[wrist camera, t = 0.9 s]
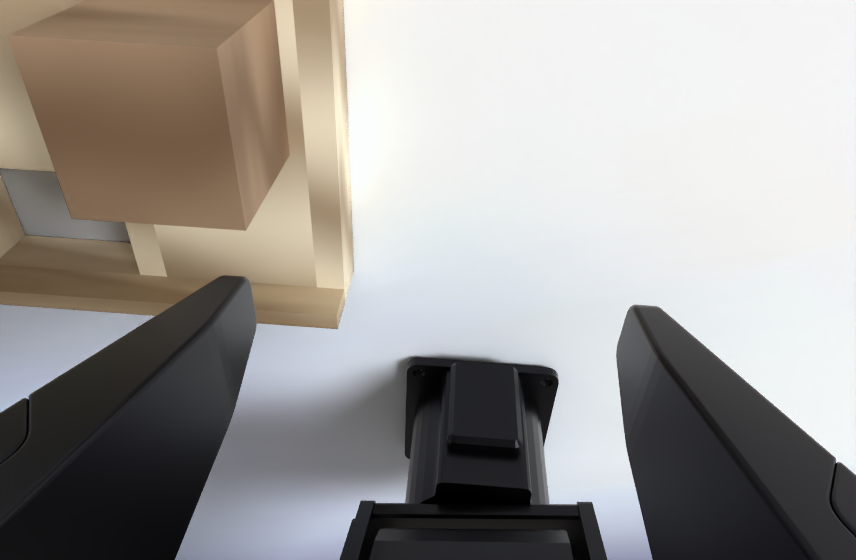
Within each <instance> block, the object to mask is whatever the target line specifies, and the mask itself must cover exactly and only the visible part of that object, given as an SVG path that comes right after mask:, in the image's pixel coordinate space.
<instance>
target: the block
mask: <svg viewBox="0 0 856 560" xmlns="http://www.w3.org/2000/svg"><path fill="white" fill-rule="evenodd" d="M7 37H8V40H9V43H10V45H11V48H12V51H13V54H14V57H15V59H16V62H17V65H18V68H19V71H20V74H21V76H22V79H23V82H24V85H25V88H26V91H27V93H28V96H29V99H30V102H31V105H32V108H33V110H34V113H35V116H36V119H37V122H38V124H39V127H40V130H41V133H42V136H43V139H44V141H45V144H46V147H47V150H48V153H49V156H50V158H51V161H52V164H53V167H54V170H55V173H56V175H57V178H58V181H59V184H60V187H61V189H62V192H63V195H64V198H65V201H66V204H67V206H68V209H69V212H70V215H71V218H72V219H83V220H98V221H112V222H127V223H141V224H156V225H170V226H185V227H199V228H214V229H228V230H243V231H246V230H247V228H248V226H249V225H250V223H251V221H252V219H253V218H254V216H255V214H256V213H257V211H258V209H259V207H260V206H261V204H262V202H263V200H264V199H265V197H266V195H267V194H268V192H269V190H270V188H271V187H272V185H273V183H274V181H275V180H276V178H277V176H278V174H279V173H280V171H281V169H282V168H283V166H284V164H285V162H286V161H287V159H288V157H289V155H290V152H289V142H288V132H287V122H286V113H285V103H284V93H283V83H282V73H281V64H280V54H279V44H278V34H277V24H276V14H275V5H274V0H87V1H84V2H82V3H80V4H78V5H75V6H73V7H71V8H68V9H66V10H64V11H62V12H59V13H57V14H55V15H52V16H50V17H48V18H45V19H43V20H41V21H39V22H36V23H34V24H32V25H29V26H27V27H25V28H23V29H20V30H18V31H16V32H13V33H11V34H9V35H7Z"/></svg>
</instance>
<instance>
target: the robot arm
mask: <svg viewBox="0 0 856 560" xmlns="http://www.w3.org/2000/svg"><path fill="white" fill-rule="evenodd" d="M255 331H256V313H255V307H254V301H253V294H252V288H251V284H250V281H249V279H247V278H246V277H244V276H230V275H222V276H220V277H218V278H216V279H214V280H213V281H211V282H210V283H208V284H206V285H205V286H203V287H202V288H200V289H198V290H197V291H195V292H194V293H192V294H190V295H189V296H187V297H186V298H184V299H182V300H181V301H179V302H178V303H176V304H174V305H173V306H171V307H170V308H168V309H166V310H165V311H163V312H162V313H160V314H158V315H157V316H155V317H154V318H152V319H150V320H149V321H147V322H145V323H144V324H142V325H141V326H139V327H137V328H136V329H134V330H133V331H131V332H129V333H128V334H126V335H125V336H123V337H121V338H120V339H118V340H117V341H115V342H113V343H112V344H110V345H109V346H107V347H105V348H104V349H102V350H101V351H99V352H97V353H96V354H94V355H93V356H91V357H89V358H88V359H86V360H85V361H83V362H81V363H80V364H78V365H77V366H75V367H73V368H72V369H70V370H69V371H67V372H65V373H64V374H62V375H60V376H59V377H57V378H56V379H54V380H52V381H51V382H49V383H48V384H46V385H44V386H43V387H41V388H40V389H38V390H36V391H35V392H33V393H32V394H30V395H29V400H28V399H27V398H24V399H22V400H20V401H18V402H17V403H15V404H14V405H12V406H10V407H9V408H7V409H6V410H4V411H2V412H1V413H0V560H175V558H176V555H177V553H178V550H179V548H180V545H181V543H182V540H183V538H184V535H185V533H186V530H187V528H188V525H189V523H190V521H191V518H192V516H193V513H194V511H195V508H196V506H197V503H198V501H199V498H200V496H201V493H202V491H203V488H204V486H205V483H206V481H207V478H208V476H209V473H210V471H211V468H212V466H213V464H214V461H215V459H216V456H217V454H218V451H219V449H220V446H221V444H222V441H223V439H224V436H225V434H226V431H227V429H228V426H229V424H230V421H231V418H232V415H233V412H234V409H235V406H236V402H237V399H238V395H239V391H240V387H241V384H242V380H243V376H244V372H245V369H246V365H247V361H248V357H249V354H250V350H251V346H252V342H253V339H254V335H255ZM616 358H617V368H618V378H619V387H620V396H621V405H622V415H623V424H624V433H625V440H626V447H627V452H628V457H629V461H630V465H631V470H632V474H633V478H634V482H635V487H636V491H637V495H638V499H639V503H640V508H641V512H642V516H643V520H644V525H645V529H646V533H647V537H648V542H649V546H650V550H651V554H652V558H653V560H856V475H855V474H854V473H853V472H852V471H850V470H849V469H848V468H847V467H846V466H845V465H843V464H842V463H840V462H837V463H836V458H835V457H834V456H833V455H831V454H830V453H829V452H828V451H827V450H826V449H824V448H823V447H822V446H821V445H820V444H819V443H817V442H816V441H815V440H814V439H813V438H812V437H810V436H809V435H808V434H807V433H806V432H805V431H803V430H802V429H801V428H800V427H799V426H798V425H796V424H795V423H794V422H793V421H792V420H791V419H789V418H788V417H787V416H786V415H785V414H784V413H782V412H781V411H780V410H779V409H778V408H777V407H775V406H774V405H773V404H772V403H771V402H770V401H768V400H767V399H766V398H765V397H764V396H763V395H761V394H760V393H759V392H758V391H757V390H756V389H754V388H753V387H752V386H751V385H750V384H749V383H747V382H746V381H745V380H744V379H743V378H741V377H740V376H739V375H738V374H737V373H736V372H734V371H733V370H732V369H731V368H730V367H729V366H727V365H726V364H725V363H724V362H723V361H722V360H720V359H719V358H718V357H717V356H716V355H715V354H713V353H712V352H711V351H710V350H709V349H708V348H706V347H705V346H704V345H703V344H702V343H701V342H699V341H698V340H697V339H696V338H695V337H694V336H692V335H691V334H690V333H689V332H688V331H687V330H685V329H684V328H683V327H682V326H681V325H680V324H678V323H677V322H676V321H675V320H674V319H673V318H671V317H670V316H669V315H668V314H667V313H666V312H664V311H663V310H662V309H661V308H659V307H657V306H647V305H633V306H631V307H630V308H629V310H628V312H627V315H626V318H625V321H624V325H623V328H622V331H621V335H620V338H619V341H618V345H617V353H616ZM416 369H422V370H421V371H418V370H416ZM547 378H548V379H549V380H543V379H547ZM558 384H559V383H558V374H557V372H556V371H555V370H553V369H551V368H545V367H532V366H518V365H505V364H492V363H478V362H465V361H451V360H438V359H425V358H415V359H413V360H411V361H410V362H409V364H408V369H407V393H406V430H405V456H406V457H407V458H408V459H410V463H409V473H408V482H407V491H406V500H405V503H376V502H375V501H361V502H360V505H359V508H358V511H357V515H356V518H355V519H353V520H352V522H351V526H350V529H349V532H348V535H347V538H346V541H345V544H344V548H343V551H342V554H341V557H340V560H607V557H606V553H605V549H604V546H603V542H602V538H601V534H600V530H599V527H598V523H597V519H596V515H595V512H594V508H593V504H592V502H577V504H549V495H548V486H547V477H546V467H545V458H544V448H543V447H544V443H545V439H546V434H547V430H548V426H549V422H550V417H551V413H552V409H553V405H554V401H555V396H556V392H557V388H558Z"/></svg>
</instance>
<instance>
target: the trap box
mask: <svg viewBox="0 0 856 560" xmlns="http://www.w3.org/2000/svg"><path fill="white" fill-rule="evenodd" d="M84 1H87V0H0V168H5V169H20V170H35V171H50V172H55V170H54V167H53V164H52V161H51V158H50V156H49V153H48V150H47V147H46V144H45V141H44V139H43V136H42V133H41V130H40V127H39V124H38V122H37V119H36V116H35V113H34V110H33V108H32V105H31V102H30V99H29V96H28V93H27V91H26V88H25V85H24V82H23V79H22V76H21V74H20V71H19V68H18V65H17V62H16V59H15V57H14V54H13V51H12V48H11V45H10V43H9V40H8V37H7V35H9V34H11V33H13V32H16V31H18V30H20V29H23V28H25V27H27V26H29V25H32V24H34V23H36V22H39V21H41V20H43V19H45V18H48V17H50V16H52V15H55V14H57V13H59V12H62V11H64V10H66V9H68V8H71V7H73V6H75V5H78V4H80V3H82V2H84ZM274 5H275V14H276V24H277V34H278V44H279V54H280V64H281V73H282V83H283V93H284V103H285V113H286V122H287V132H288V142H289V152H290V155H289V157H288V159H287V161H286V162H285V164H284V166H283V168H282V169H281V171H280V173H279V174H278V176H277V178H276V180H275V181H274V183H273V185H272V187H271V188H270V190H269V192H268V194H267V195H266V197H265V199H264V200H263V202H262V204H261V206H260V207H259V209H258V211H257V213H256V214H255V216H254V218H253V219H252V221H251V223H250V225H249V226H248V228H247V230H246V231H243V230H228V229H214V228H199V227H185V226H170V225H156V224H141V223H127V222H125V225H126V228H127V231H128V235H129V238H130V242H131V243H129V242H115V241H100V240H86V239H72V238H58V237H43V236H29V235H25V233H24V231H23V228H22V226H21V223H20V221H19V218H18V216H17V214H16V211H15V209H14V206H13V204H12V201H11V199H10V197H9V194H8V192H7V189H6V187H5V185H4V182H3V180H2V177H1V175H0V304H3V305H17V306H30V307H44V308H58V309H71V310H85V311H98V312H112V313H126V314H139V315H153V316H157V315H158V314H160V313H162V312H163V311H165V310H166V309H168V308H170V307H171V306H173V305H174V304H176V303H178V302H179V301H181V300H182V299H184V298H186V297H187V296H189V295H190V294H192V293H194V292H195V291H197V290H198V289H200V288H202V287H203V286H205V285H206V284H208V283H210V282H211V281H213V280H214V279H216V278H218V277H220V276H222V275H230V276H244V277H246V278H247V279H249V281H250V284H251V288H252V294H253V301H254V307H255V313H256V323H262V324H275V325H289V326H302V327H316V328H330V329H338V326H339V322H340V318H341V315H342V311H343V308H344V304H345V301H346V297H347V293H348V290H349V286H350V283H351V279H352V276H353V272H354V262H353V236H352V211H351V186H350V161H349V135H348V110H347V85H346V60H345V34H344V9H343V0H274Z"/></svg>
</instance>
